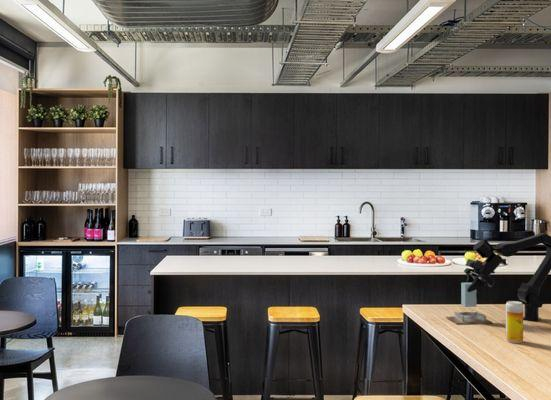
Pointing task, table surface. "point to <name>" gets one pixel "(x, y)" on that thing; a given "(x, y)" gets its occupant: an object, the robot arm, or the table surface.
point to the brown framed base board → (469, 318)
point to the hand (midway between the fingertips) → (465, 290)
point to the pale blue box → (468, 296)
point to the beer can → (514, 322)
